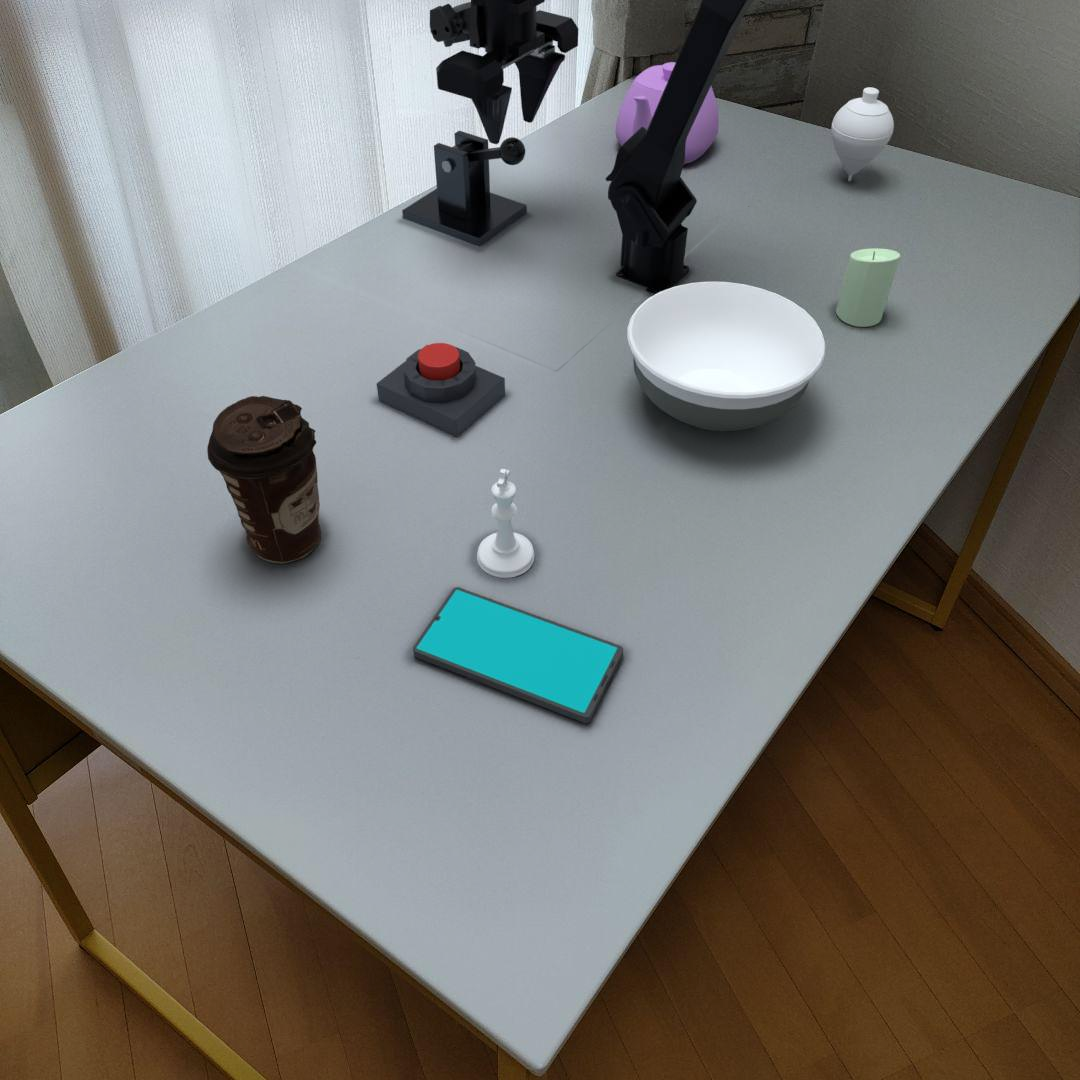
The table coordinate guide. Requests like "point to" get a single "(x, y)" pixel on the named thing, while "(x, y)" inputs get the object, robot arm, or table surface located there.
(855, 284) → the candle
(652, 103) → the teapot
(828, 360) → the table surface
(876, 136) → the spinning top
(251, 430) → the coffee cup
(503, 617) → the smartphone
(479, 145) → the lever bracket
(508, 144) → the black lever
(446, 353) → the red button
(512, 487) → the chess piece
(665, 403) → the bowl
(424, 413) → the control block
